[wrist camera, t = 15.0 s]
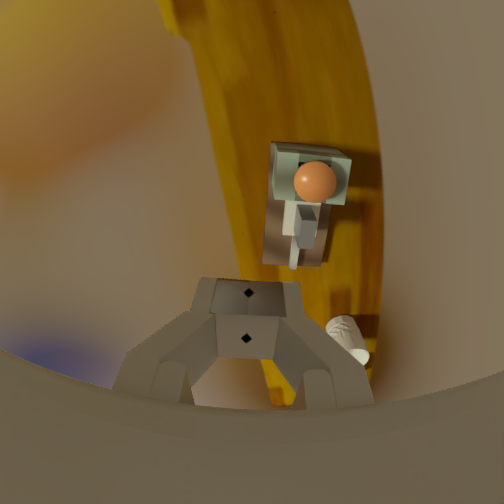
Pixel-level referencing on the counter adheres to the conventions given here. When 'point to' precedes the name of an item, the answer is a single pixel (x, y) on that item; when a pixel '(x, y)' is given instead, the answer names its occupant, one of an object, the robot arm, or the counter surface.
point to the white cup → (348, 337)
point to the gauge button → (314, 181)
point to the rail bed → (282, 188)
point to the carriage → (301, 222)
